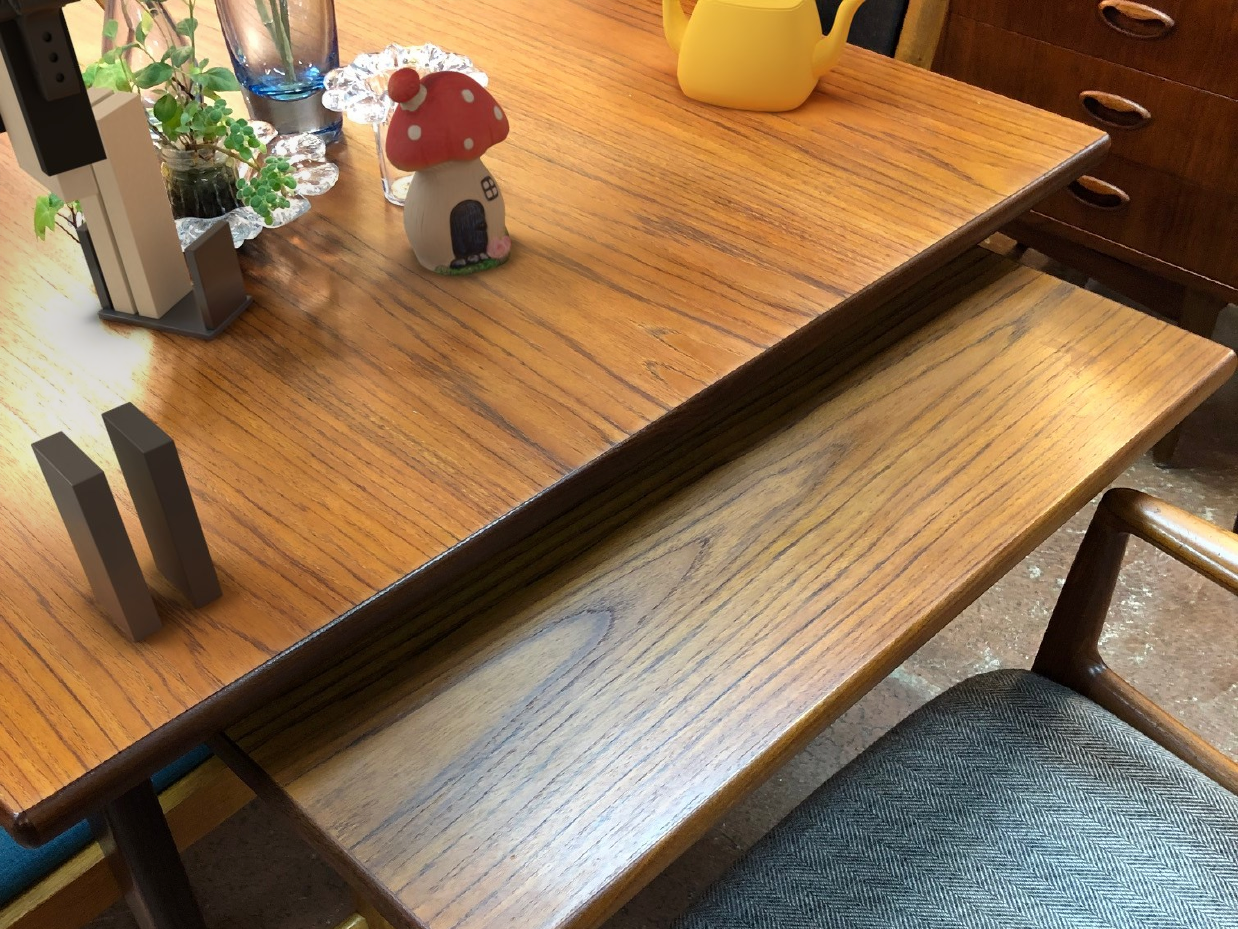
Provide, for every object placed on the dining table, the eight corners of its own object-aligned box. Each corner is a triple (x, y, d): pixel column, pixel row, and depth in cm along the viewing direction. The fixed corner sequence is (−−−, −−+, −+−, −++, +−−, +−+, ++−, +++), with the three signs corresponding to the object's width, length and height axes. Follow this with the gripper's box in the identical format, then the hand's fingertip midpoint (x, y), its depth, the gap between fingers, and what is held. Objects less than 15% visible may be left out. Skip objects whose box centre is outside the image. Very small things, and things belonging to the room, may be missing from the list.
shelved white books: (114, 310, 84) (49, 112, 75) (150, 281, 87) (92, 86, 77) (158, 319, 84) (98, 120, 74) (193, 289, 87) (140, 93, 77)
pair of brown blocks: (138, 649, 63) (71, 485, 55) (99, 607, 65) (29, 443, 57) (225, 602, 65) (174, 439, 57) (185, 562, 67) (130, 400, 60)
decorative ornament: (411, 291, 89) (384, 85, 78) (389, 251, 93) (361, 50, 82) (530, 268, 91) (520, 66, 80) (503, 230, 95) (490, 33, 85)
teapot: (879, 73, 119) (898, -46, 111) (845, 134, 109) (863, 7, 101) (670, 43, 124) (675, -73, 117) (619, 99, 114) (620, -25, 106)
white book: (66, 204, 54) (-55, -156, 44) (19, 167, 57) (-105, -181, 47) (99, 193, 55) (-12, -163, 45) (51, 157, 57) (-64, -187, 47)
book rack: (100, 324, 85) (69, 233, 80) (146, 286, 89) (118, 197, 84) (213, 347, 83) (188, 255, 78) (255, 308, 87) (233, 217, 82)
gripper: (43, -571, 35) (221, 186, 52) (-169, -581, 44) (39, 66, 61) (-231, -573, 31) (55, 243, 48) (-401, -583, 41) (-112, 105, 57)
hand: (46, 143), depth 54 cm, fingers closed on white book, 5 cm apart
